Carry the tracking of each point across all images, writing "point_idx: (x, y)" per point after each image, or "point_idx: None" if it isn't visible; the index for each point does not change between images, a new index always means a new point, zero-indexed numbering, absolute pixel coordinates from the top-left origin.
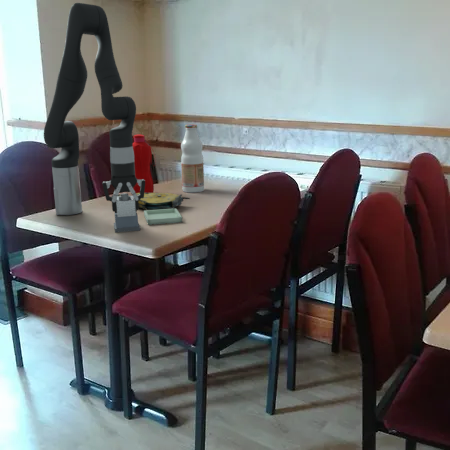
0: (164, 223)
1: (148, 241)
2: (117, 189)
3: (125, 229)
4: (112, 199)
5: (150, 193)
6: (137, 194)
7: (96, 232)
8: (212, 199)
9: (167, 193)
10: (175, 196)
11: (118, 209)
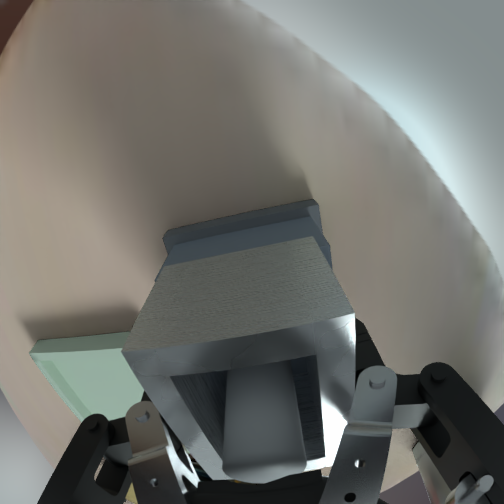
0: (89, 336)
1: (96, 21)
2: (361, 496)
3: (251, 214)
4: (392, 384)
5: None
6: None
7: (410, 213)
8: None
9: None
10: (129, 496)
11: (314, 267)
